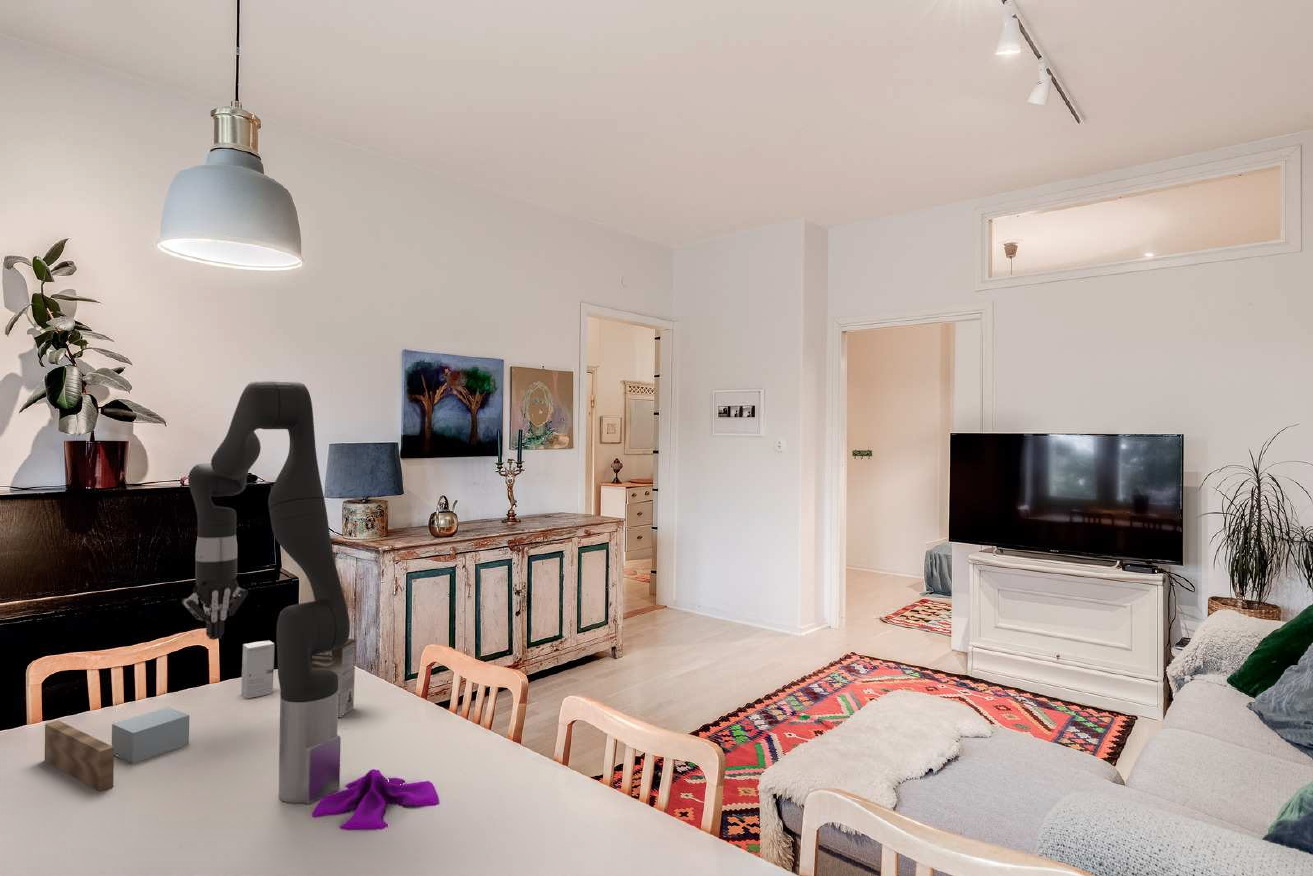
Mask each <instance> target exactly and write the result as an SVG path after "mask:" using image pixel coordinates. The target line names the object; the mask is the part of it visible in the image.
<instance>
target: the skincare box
mask: <svg viewBox="0 0 1313 876" xmlns="http://www.w3.org/2000/svg"><path fill="white" fill-rule="evenodd" d="M241 657H242V661H241V664H242V666H241V693H240V694H241V696H242V697H243V696H244V697H243V698H244V699H245V700H246V699H251V698H258V697H261V696H267V695H271V694H273V692H274V669H275V667H274V666H275V643H274V642H272V641H271V640H269V639H268V640H262V641H253V642H249V643H243V644H242V656H241Z"/></svg>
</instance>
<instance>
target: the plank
mask: <svg viewBox="0 0 1313 876" xmlns="http://www.w3.org/2000/svg"><path fill="white" fill-rule="evenodd" d="M114 759H115V755H114V747H113V746H112V744H108V743H106V742H104V741H103V740H101V739H98V738H96V737H94V736H92V735H89V734H87V733H86V732H83V731H81V730H79V729H78V728H75V727H73V726H71V725H69V724H67V723H65V722H62V721H61V720H58V719H57V720H55V721H54V720H53V721H50V722H47V723H44V760H45V762H46V763H48V764H49V765H51V766H53V765H54V766H53V767H55V768H57V769H59V770H60V769H61V770H60V771H63V772H64V773H66V774H67V775H69V774H70V775H69V776H71V777H73V778H75V779H77V780H78V779H79V780H78V781H79V782H82V783H84V784H85V785H87V786H89V787H91V788H93V789H95V790H96V791H98V792H102V791H104V790H105V791H106V790H109V789H110V787H111V788H113V787H114V771H115V770H114V768H115V767H114V764H115V760H114Z"/></svg>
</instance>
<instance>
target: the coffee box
mask: <svg viewBox="0 0 1313 876" xmlns="http://www.w3.org/2000/svg"><path fill="white" fill-rule="evenodd" d="M356 642H357V641H356V639H353V638H348V641H347V642H346V644H345V645H344V646H343V647H341V648H338V649H335V650H331V651H327V652H323V653H319V654H315V655H311V656H310V665H311V668H321V669H327V670H331V671H333V672H335V673H336V674H337V675H338V717H341V716H342V715H343V714H345V713H346V714H347V712H348V711H349V710H350V711H352V710H353V709H354V708H353V707H355V706H354V705H355V676H356V675H355V674H356V673H355V672H356V670H355V669H356V646H357V645H356ZM352 708H353V709H352ZM351 709H352V710H351ZM350 711H349V712H350ZM349 712H348V713H349ZM346 714H345V715H346ZM342 717H343V716H342ZM342 717H341V718H342Z"/></svg>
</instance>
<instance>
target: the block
mask: <svg viewBox="0 0 1313 876" xmlns="http://www.w3.org/2000/svg"><path fill="white" fill-rule="evenodd" d="M187 745H190V715H189V714H187V713H186V712H185V713H184V712H182V711H179V710H177V709H174V708H172V707H164V708H161V709H157V710H154V711H151V712H147V713H143V714H140V715H137V716H133V717H131V718H130V717H129V718H127V719H125V720H120V721H117V722H113V723H111V746H113V747H114V756H115V755H118V756H119V757H121V758H120V759H122V760H124V761H126V760H127V761H126V762H128V761H129V762H128V763H130V764H132V765H134V764H135V763H138V762H141V761H145V760H147V759H151V758H152V757H156V756H158V755H162V754H164V753H167V752H170V751H172V750H175V749H178V747H179V748H180V746H182V747H184V746H187ZM119 757H118V758H119Z"/></svg>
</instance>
